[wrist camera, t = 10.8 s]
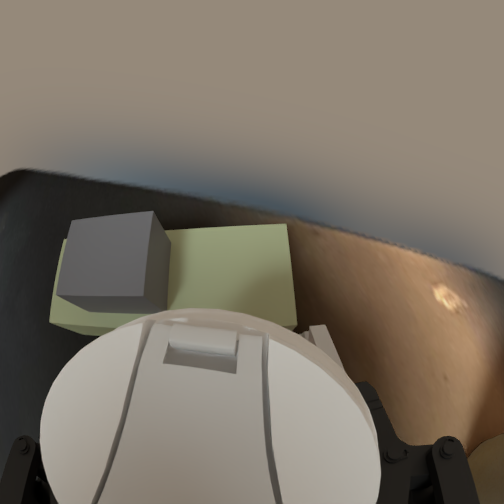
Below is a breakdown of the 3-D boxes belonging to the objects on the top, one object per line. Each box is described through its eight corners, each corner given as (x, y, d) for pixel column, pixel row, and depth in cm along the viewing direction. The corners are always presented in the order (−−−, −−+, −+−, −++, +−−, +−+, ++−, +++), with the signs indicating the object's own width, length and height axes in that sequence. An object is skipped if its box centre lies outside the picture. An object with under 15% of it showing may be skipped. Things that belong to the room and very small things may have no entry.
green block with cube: (84, 439, 16) (17, 452, 8) (91, 263, 23) (37, 214, 15) (318, 453, 16) (355, 495, 8) (301, 252, 24) (322, 187, 15)
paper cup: (187, 346, 18) (46, 269, 5) (302, 356, 17) (416, 302, 4) (176, 452, 14) (44, 545, 2) (291, 465, 14) (356, 602, 1)
